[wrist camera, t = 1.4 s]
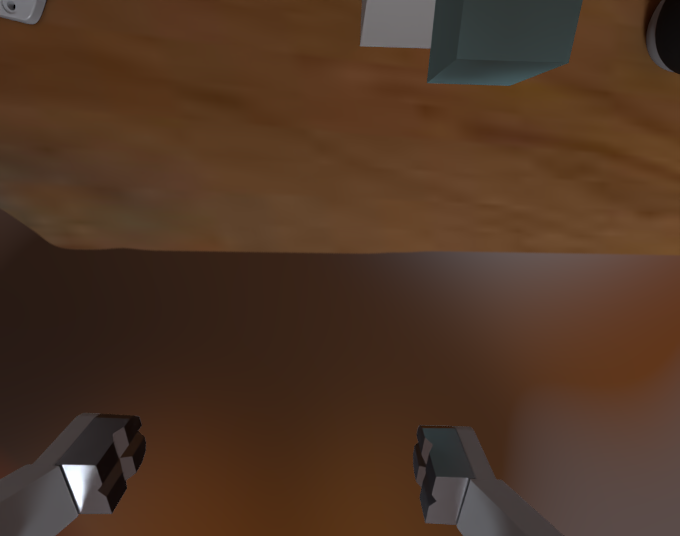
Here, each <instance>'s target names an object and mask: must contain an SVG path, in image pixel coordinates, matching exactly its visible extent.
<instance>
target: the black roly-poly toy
mask: <svg viewBox="0 0 680 536" xmlns="http://www.w3.org/2000/svg"><path fill="white" fill-rule="evenodd" d="M646 45H647V50H648V53H649V55H650V57H651V59H652V60H653V61H654V62H655V63H656V64H657V65H658V66H659V67H661V68H663V69H665V70H667V71H670V72H675V73H677V74H680V0H662V1H661V2H660V3H659V5H658V6H657V8H656V9H655V11H654V13H653V15H652V17H651V19H650V22H649V25H648V29H647V35H646Z"/></svg>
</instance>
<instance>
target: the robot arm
mask: <svg viewBox="0 0 680 536" xmlns="http://www.w3.org/2000/svg"><path fill="white" fill-rule="evenodd" d="M45 3H46V0H0V17H3V18H7V19H11V20H15V21H19V22H23V23H27V24H35V23H37V22H38V20H39V19H40V17H41V15H42V12H43V9H44V6H45ZM14 4H15V10H14V8H13V6H14ZM141 426H142V424H141V421H140V417H139V416H131V415H115V414H96V413H82V414H80V415H79V416H77V417H76V418H75V419H74V420H73V421H72V422H71V423H70V424H69V425H68V426H67V428H66V429H65V430H64V431H63V432H62V433H61V434H60V435H59V436H58V437H57V439H55V441H54V442H53V443H52V444H51V445H50V446H49V447H48V448H47V449H46V450H45V451H44V453H43V454H42V455H41V456H40V457H39V458H38V459H37V460H36V461H35V462H34V463H33V464H32V465H25V466H23V467H22V468H20V469H18V470H16V471H14V472H13V473H11V474H9V475H7V476H6V477H4V478H2V479H0V536H55V535H56V534H58V533H59V532H60V531H61V530H62V529H64V528H65V527H66V526H67V525H68V524H69V523H71V522H72V521H73V520H74V519H75V518H76V517H78V514H112V513H113V511H114V509H115V508H116V506H117V504H118V502H119V501H120V499H121V498H122V496H123V494H124V492H125V491H126V489H127V485H126V480H127V479H128V478H130V477H131V476H132V475H134V474H135V473H136V472H137V470H138V469H139V467H140V465H141V463H142V461H143V457H144V455H145V451H146V441H145V437H144V436H143V435H142V434H141V433H140V432H139V431H138V430H139V429H140V427H141ZM417 439H418V443H417V444H416V445H415V446H414V452H413V467H414V474H415V479H416V482H417V483H418V484H419V485H420V486H421V493H420V501H421V506H422V510H423V515H424V518H425V523H435V524H451V525H457V528H458V529H459V530H460V532H461V533H462V535H463V536H564V535H563V534H561V533H560V532H559V531H558V530H557V529H556V528H555V527H554V526H553V525H551V524H550V523H549V522H548V521H547V520H546V519H545V518H544V517H543V516H541V515H540V514H539V513H538V512H537V511H536V510H535V509H534V508H532V507H531V506H530V505H529V504H528V503H527V502H526V501H525V500H523V499H522V498H521V497H520V496H519V495H518V494H517V493H516V492H515V491H513V490H512V489H511V488H510V487H509V486H508V485H507V484H506V483H504V482H503V481H502V480H496V478H495V476H494V474H493V471H492V469H491V467H490V465H489V463H488V460H487V458H486V456H485V454H484V452H483V449H482V447H481V445H480V443H479V441H478V438H477V436H476V434H475V432H474V430H473V429H472V428H471V427H463V426H430V425H429V426H428V425H427V426H426V425H420V426H419V427H418V430H417Z"/></svg>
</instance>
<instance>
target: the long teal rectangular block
mask: <svg viewBox="0 0 680 536" xmlns="http://www.w3.org/2000/svg"><path fill="white" fill-rule="evenodd" d="M582 1H583V0H436V2H435V11H434V21H433V30H432V40H431V50H430V59H429V69H428V78H427V83H443V84H474V85H505V86H510V85H513V84H515V83H518V82H520V81H523V80H526V79H528V78H531V77H533V76H536V75H538V74H541V73H544V72H546V71H549V70H551V69H554V68H556V67H559V66H562V65H564V64H567V63H569V58H570V54H571V49H572V45H573V41H574V36H575V32H576V27H577V23H578V18H579V14H580V10H581V5H582Z"/></svg>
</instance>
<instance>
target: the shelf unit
mask: <svg viewBox="0 0 680 536" xmlns="http://www.w3.org/2000/svg"><path fill="white" fill-rule="evenodd" d="M435 2H436V0H362V13H361V36H360V46H370V47H401V48H431V40H432V30H433V21H434V11H435Z"/></svg>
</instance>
